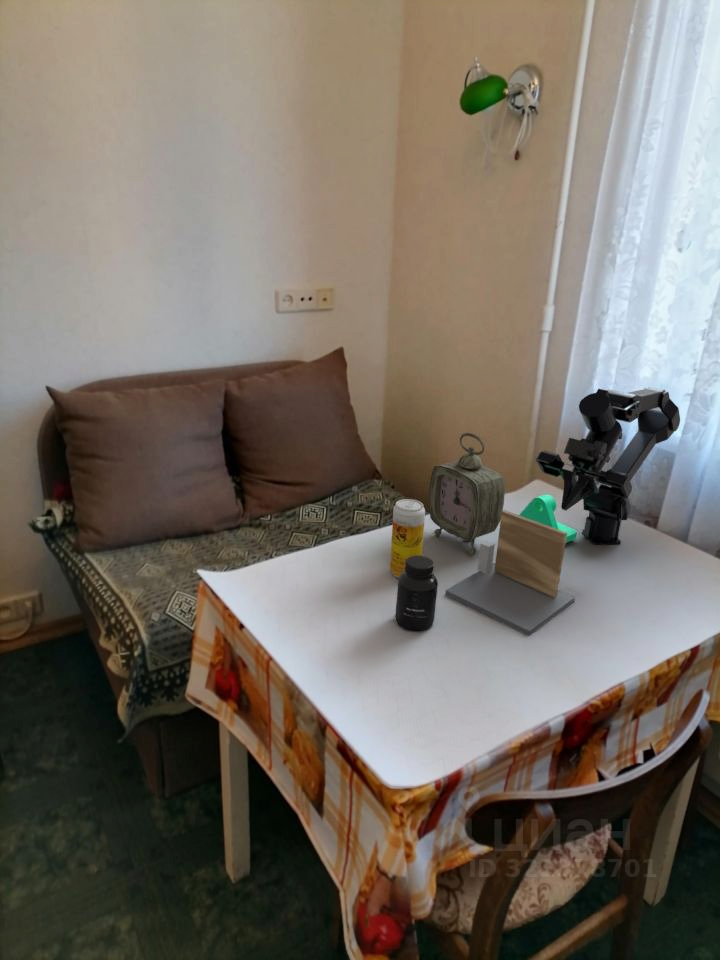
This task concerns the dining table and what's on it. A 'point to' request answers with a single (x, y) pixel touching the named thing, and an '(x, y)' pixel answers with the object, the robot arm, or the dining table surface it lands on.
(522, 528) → the door
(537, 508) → the camera mount
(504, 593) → the housing stand
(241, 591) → the dining table surface
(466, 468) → the tabletop clock
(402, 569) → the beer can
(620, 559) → the dining table surface
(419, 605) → the supplement bottle
